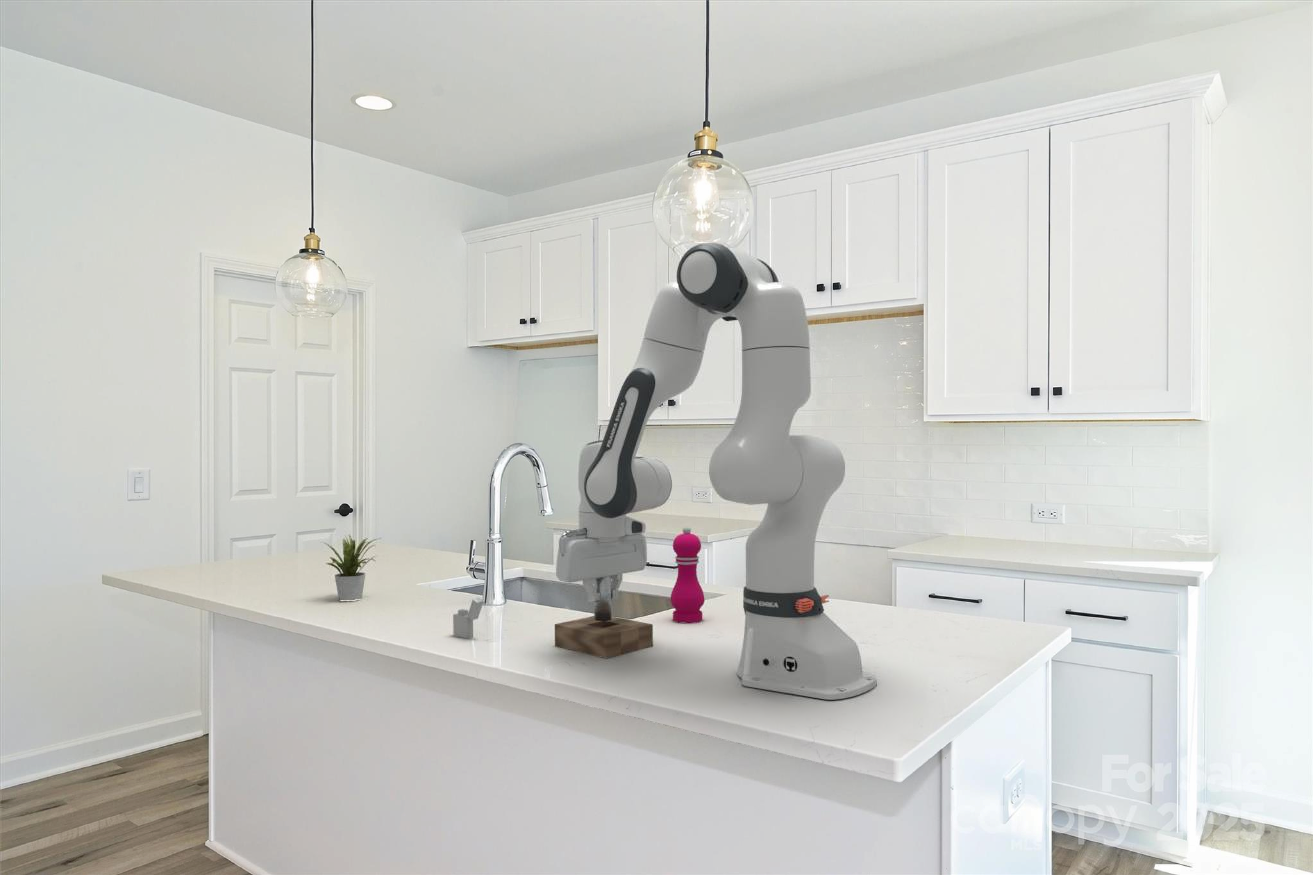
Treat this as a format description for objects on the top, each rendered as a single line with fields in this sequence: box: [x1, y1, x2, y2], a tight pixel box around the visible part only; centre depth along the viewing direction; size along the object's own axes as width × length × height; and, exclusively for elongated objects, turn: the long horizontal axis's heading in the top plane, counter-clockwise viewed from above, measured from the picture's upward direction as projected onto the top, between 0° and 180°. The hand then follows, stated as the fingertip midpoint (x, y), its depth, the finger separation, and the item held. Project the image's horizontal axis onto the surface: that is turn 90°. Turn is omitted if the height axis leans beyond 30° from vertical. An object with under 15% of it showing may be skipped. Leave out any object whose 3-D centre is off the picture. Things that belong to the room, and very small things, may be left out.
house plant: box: [321, 533, 382, 600], centre depth 209 cm, size 14×14×16 cm
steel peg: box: [593, 576, 613, 621], centre depth 161 cm, size 3×3×10 cm
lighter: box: [452, 597, 484, 639], centre depth 169 cm, size 7×2×8 cm, turn 55°
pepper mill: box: [670, 525, 706, 624], centre depth 182 cm, size 7×7×20 cm
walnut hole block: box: [554, 615, 654, 659], centre depth 161 cm, size 14×12×4 cm
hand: (603, 600), depth 161 cm, fingers closed on steel peg, 3 cm apart
